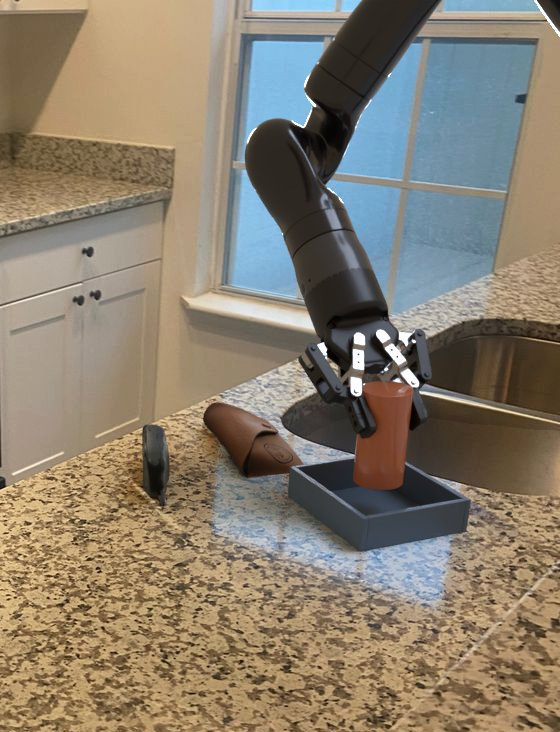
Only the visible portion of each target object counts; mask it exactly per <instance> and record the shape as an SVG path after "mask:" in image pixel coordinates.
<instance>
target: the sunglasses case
mask: <svg viewBox="0 0 560 732" xmlns="http://www.w3.org/2000/svg"><path fill="white" fill-rule="evenodd" d="M202 421H203V424H204V426H205V427H206V428H207V429H208V430H209V431H210V433H212V435H213V436H214V437H215V438H216V439H217V440H218V442H219V443H220V445H221V446H222V447H223V449H224V450H225V451H226V453H227V454H228V456H229V457H230V458H231V459H232V461H233V462H234V464H235V465H236V467H237V468H238V469H239V471H240V472H241V473H243V474H244V476H245V477H246V478H256V477H266V476H277V475H285V474H286V475H289V470H290V467H291V466H298V465H304V464H305V463H304V462H303V461H302V459H301V458H300V457H299V455H298V454H297V452H296V451H294V449H293V448H292V447H291V446H290V445H289V443H288V441H286V439H284V437H282V436H281V434H280V433H279V430H278V428H277V427H276V426H275V425H274V424H272V422H271V423H270V422H269V421H268V420H267V419H266V418H263V417H260V416H258V415H255V414H254V413H252V412H250V411H248V410H246V409H243V408H240V407H238V406H236V405H233V404H229V403H226V402H219V401H216V402H211V404H209V405H208V406H207V407H206V409H205V410H204V412H203V416H202Z"/></svg>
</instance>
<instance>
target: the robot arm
mask: <svg viewBox="0 0 560 732" xmlns="http://www.w3.org/2000/svg"><path fill="white" fill-rule="evenodd" d="M442 1H443V0H360V2H358V4H357V5H356V6H355V8H354V9H353V10H352V11H351V13H350V15H348V17H347V18H346V20H345V21H344V23H343V24H342V25H341V27H340V28H339V29H338V31H337V32H336V34H335V35H334V36H333V37H332V39H331V41H330V42H329V43H328V45H327V47H326V48H325V50H324V51H323V53H322V54H321V56H319V58H318V60H317V62H316V63H315V64H314V66H313V67H312V68H311V71H310V72H309V74H308V76H307V77H306V80H305V82H304V85H303V91H304V94H305V96H306V97H307V99H308V101H310V103H311V104H312V106H311V109H310V111H309V115H308V116H307V119H306V122H305V124H304V126H302V125H301V124H298V123H296V122H294V121H293V120H291V119H287V118H281V117H276V118H270V119H266V120H264V121H263V122H261V123H259V124H258V125H257V126H256V127H255V128H254V129H253V130H252V131H251V133H250V134H249V136H248V138H247V141H246V144H245V147H244V148H245V149H244V165H245V170H246V171H245V172H246V174H247V176H248V179H249V182H250V184H251V186H252V187H253V189H254V191H255V193H256V194H257V196H258V197H259V199H260V201H261V202H262V204H263V206H264V207H265V209H266V210H267V212H268V214H269V215H270V217H271V218H272V219H273V220H274V222H275V223H276V224H277V226H278V228H279V230H280V232H281V234H282V238H283V241H284V245H285V247H286V249H287V252H288V255H289V257H290V260H291V262H292V266H293V269H294V274H295V278H296V279H295V280H296V282H297V285H298V289H299V291H300V294H301V296H302V300H303V302H304V305H305V308H306V310H307V313H308V315H309V319H310V320H311V323H312V327H313V329H314V332H315V334H316V336H317V337H318V339H320V343H318V344H317V343H315V342H310V343H309V344H308V345H307V346H306V347H305V348H304V349H303V351H302V352H301V353H300V355H298V357H297V361H298V363H299V364H300V366H301V368H302V369H303V371H304V372H305V374H306V376H307V377H308V379H309V380H310V382H311V384H312V385H313V388H314V389H315V390H316V391H317V393H318V395H319V397H320V398H321V400H322V401H323V402H324V403H325V404H327V405H332V404H333V403H334V404H340V405H341V406H342V407H343V408H344V409H345V411H346V413H347V417H348V419H349V421H350V424H351V427H352V430H353V431H354V433H355V434H356V435H357V434H359V435H360V437H361V438H362V439H365V438H370V437H371V436H372V435H373V434H374V433H375V432H376V430H377V426H376V424H375V421H374V418H373V416H372V413H371V410H370V408H369V405H368V403H367V400H366V398H365V397H361V394H362V385H363V377H364V375H366V374H367V375H376V376H377V378H379V381H394V382H400V383H404V384H407V385H409V386H411V387H412V388H413V390H414V392H413V401H412V410H411V419H410V427H409V431H411V432H414V431H419V430H420V429H422V428H423V427H424V426H425V425H426V424H427V419H428V417H429V416H428V415H429V414H428V409H427V408H426V405H425V402H424V400H423V397H422V396H421V393H420V390H421V389H422V388H423V386H425V385H426V384H427V383H428V382H429V381H431V379H432V378H433V371H432V365H431V360H430V354H429V349H428V341H427V337H426V332H425V330H423V329H422V328H416V329H414V331H413V332H403V331H399V329H398V328H397V327H396V326H395V325H394V324H393V323H392V321H391V320H390V317H389V305H388V303H387V300H386V298H385V296H384V293H383V290H382V287H381V286H380V283H379V281H378V278H377V276H376V273H375V270H374V268H373V265H372V263H371V261H370V258H369V256H368V254H367V251H366V249H365V248H364V246H363V245H362V243H361V241H360V239H359V237H358V236H357V233H356V230H355V228H354V225H353V223H352V220H351V218H350V216H349V213H348V211H347V208H346V206H345V204H344V202H343V201H342V199H341V198H340V197H339V196H338V195H337V193H335V192H334V191H332V190H331V189H330V188H329V187H328V186H326V185H327V184H328V183H329V182H330V181H331V180H332V179H333V177H334V175H336V172H337V171H338V170H339V167H340V165H341V163H342V161H343V159H344V156H345V155H346V152H347V150H348V147H349V145H350V143H351V141H352V138H353V137H354V133H355V131H356V130H357V126H358V123H359V121H360V118H361V116H362V114H363V113H364V111H365V110H366V108H367V107H368V106H369V104H370V103H371V101H373V99H374V98H375V96H376V95H377V93H379V91H380V89H381V88H382V87H383V85H384V84H385V82H386V81H387V80H388V78H389V77H390V75H391V74H392V72H393V71H394V70H395V68H397V66H398V64H399V63H400V61H401V60H402V58H403V57H404V56H405V54H406V53H407V51H408V50H409V49H410V47H411V45H412V44H413V43H414V41H415V40H416V38H417V37H418V36H419V34H420V32H421V31H422V29H423V28H424V26H426V23H427V22H428V21H429V20H430V18H431V17H432V15H433V14H434V13H435V11H436V9H437V8H438V7H439V5H440V4H441V3H442ZM534 2H535V3H536V4H537V5H536V6H538V8H539V9H540V11H541V12H542V14H543V15H544V16H545V18H546V19H547V21H548V23H550V25H551V26H552V28H553V29H554V30H555V32H556V34H558V36H559V37H560V0H534ZM397 346H398V347H399V348H400V350H399V349H398V348H397ZM328 359H329V360H330V361H331V362H332V363H334V365H335V366H337V374H336V371H335V370H334V369H333V367H332V366H331V364H330V363H329V361H328ZM390 365H391V368H390V369H389V368H388V367H389V366H390Z"/></svg>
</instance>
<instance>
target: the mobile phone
mask: <svg viewBox="0 0 560 732" xmlns="http://www.w3.org/2000/svg"><path fill="white" fill-rule="evenodd" d="M141 441H142V442H141V443H142V444H141V457H142V487H143V491H144V492H145V494H146V495H147V496H148V497H152V498H157V499H158V500H159V503H160V506H161V507H166V506H167V505H168V503H167V499H166V493H167V490H168V483H169V479H170V451H169V445H168V442H167V436H166V432H165V429H164V428H163V427H162V426H161V425H159V424H153V423H152V424H149V423H148V424H144V425H143V426H142V432H141Z"/></svg>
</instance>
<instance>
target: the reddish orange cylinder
mask: <svg viewBox="0 0 560 732" xmlns="http://www.w3.org/2000/svg"><path fill="white" fill-rule="evenodd" d="M413 392H414V390H413V388H412V387H411V386H409V385H407V384H404V382H403V383H400V382H394V381H381V380H374V381H369V382H365V383H362V394H361V397H365V398H366V400H367V403H368V405H369V408H370V410H371V413H372V416H373V418H374V421H375V424H376V426H377V430H376V432H375V433H374V434H373V435H372V436H371V437H370V438H365V439H362V438H361V437H360V435H359V434H356V438H355V439H356V440H355V450H354V456H355V460H354V471H353V481H354V482H355V483H356V484H357V485H359V486H361V487H364V488H368V489H373V490H391V489H396V488H398V487H400V486H401V485H402V484H403V480H404V471H405V463H406V462H407V454H408V453H407V452H408V443H409V436H410V435H409V434H410V429H409V427H410V419H411V410H412V401H413Z"/></svg>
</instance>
